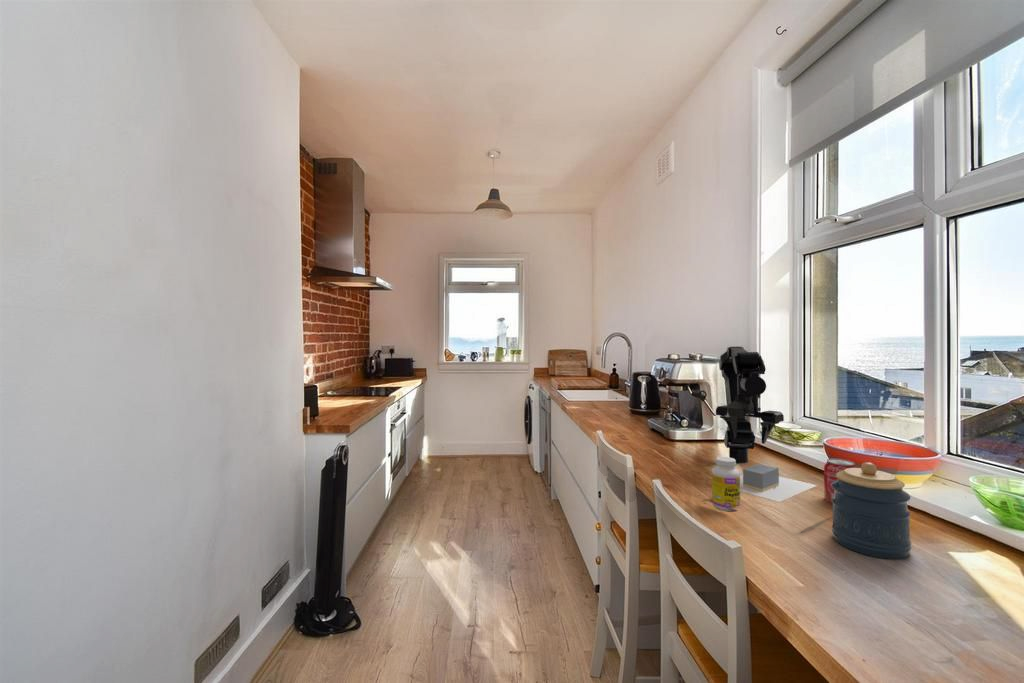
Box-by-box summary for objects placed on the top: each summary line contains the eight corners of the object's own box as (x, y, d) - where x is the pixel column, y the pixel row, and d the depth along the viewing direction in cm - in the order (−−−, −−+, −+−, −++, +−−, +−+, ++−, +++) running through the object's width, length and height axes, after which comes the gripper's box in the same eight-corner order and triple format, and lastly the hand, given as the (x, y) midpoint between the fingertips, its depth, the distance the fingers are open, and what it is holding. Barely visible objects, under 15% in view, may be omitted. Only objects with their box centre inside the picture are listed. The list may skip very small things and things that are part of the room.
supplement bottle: (723, 513, 110) (722, 463, 110) (706, 504, 116) (706, 456, 116) (746, 511, 111) (745, 461, 111) (728, 501, 117) (728, 454, 117)
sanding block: (759, 480, 130) (759, 463, 130) (778, 485, 125) (778, 468, 125) (743, 486, 125) (742, 469, 125) (762, 491, 120) (762, 474, 120)
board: (754, 474, 140) (754, 470, 140) (817, 490, 125) (817, 485, 125) (714, 488, 128) (714, 483, 128) (779, 507, 113) (779, 501, 113)
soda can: (846, 502, 115) (845, 457, 115) (865, 513, 108) (864, 465, 108) (818, 502, 116) (817, 457, 116) (835, 512, 109) (834, 465, 109)
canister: (880, 564, 84) (879, 474, 84) (817, 536, 96) (816, 457, 96) (927, 555, 87) (926, 468, 87) (861, 528, 100) (859, 452, 100)
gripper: (705, 390, 140) (706, 439, 140) (765, 396, 124) (765, 450, 124) (725, 388, 146) (725, 434, 146) (784, 393, 130) (785, 445, 130)
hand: (748, 440), depth 136 cm, fingers open, 9 cm apart
